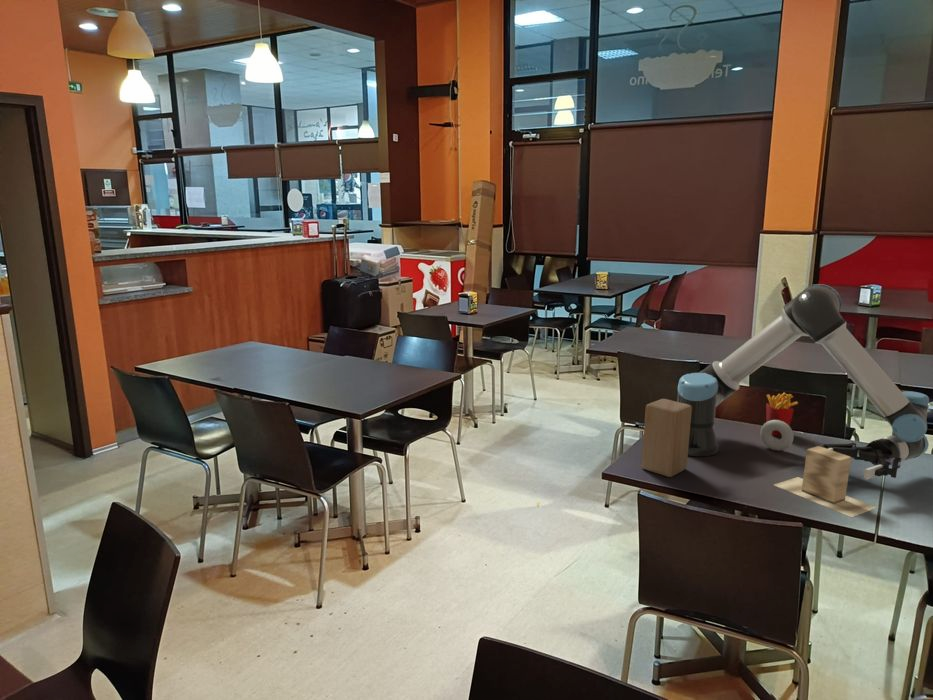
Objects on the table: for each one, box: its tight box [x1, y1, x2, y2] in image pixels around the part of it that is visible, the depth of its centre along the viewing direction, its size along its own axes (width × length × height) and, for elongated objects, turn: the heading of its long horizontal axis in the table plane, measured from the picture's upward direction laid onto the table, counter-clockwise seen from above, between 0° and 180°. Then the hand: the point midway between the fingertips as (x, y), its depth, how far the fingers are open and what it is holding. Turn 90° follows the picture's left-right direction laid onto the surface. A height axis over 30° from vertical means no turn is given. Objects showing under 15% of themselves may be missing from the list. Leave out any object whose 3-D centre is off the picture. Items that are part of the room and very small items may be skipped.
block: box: [641, 398, 692, 478], centre depth 198 cm, size 10×10×20 cm
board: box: [773, 476, 877, 518], centre depth 180 cm, size 22×11×2 cm, turn 30°
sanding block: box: [802, 445, 852, 504], centre depth 179 cm, size 9×5×12 cm, turn 30°
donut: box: [759, 420, 794, 452], centre depth 215 cm, size 10×4×10 cm, turn 49°
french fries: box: [765, 392, 799, 437], centre depth 228 cm, size 9×8×15 cm
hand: (840, 465), depth 181 cm, fingers open, 13 cm apart
